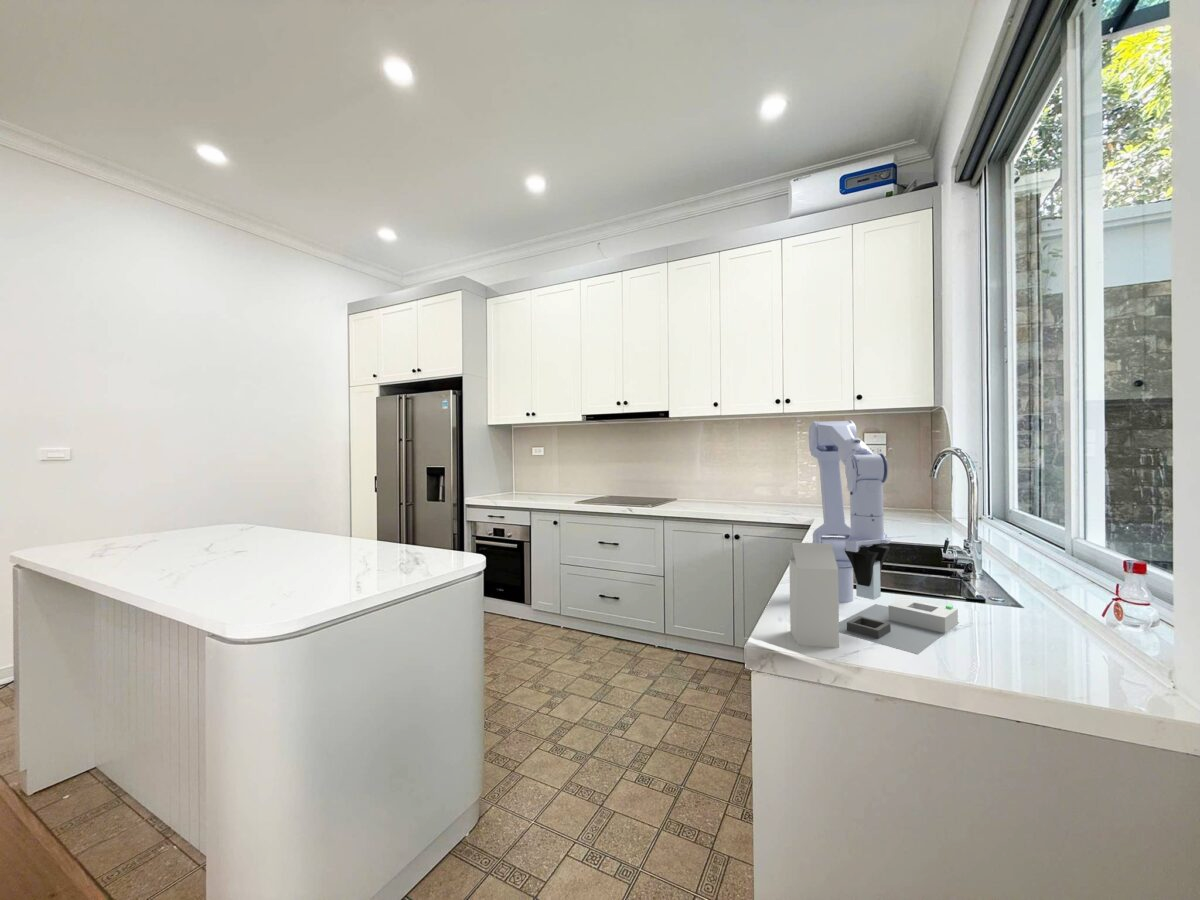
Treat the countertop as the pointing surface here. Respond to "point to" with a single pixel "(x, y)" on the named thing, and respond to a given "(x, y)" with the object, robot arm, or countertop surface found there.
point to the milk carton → (814, 595)
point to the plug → (871, 585)
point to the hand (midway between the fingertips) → (867, 583)
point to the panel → (902, 624)
